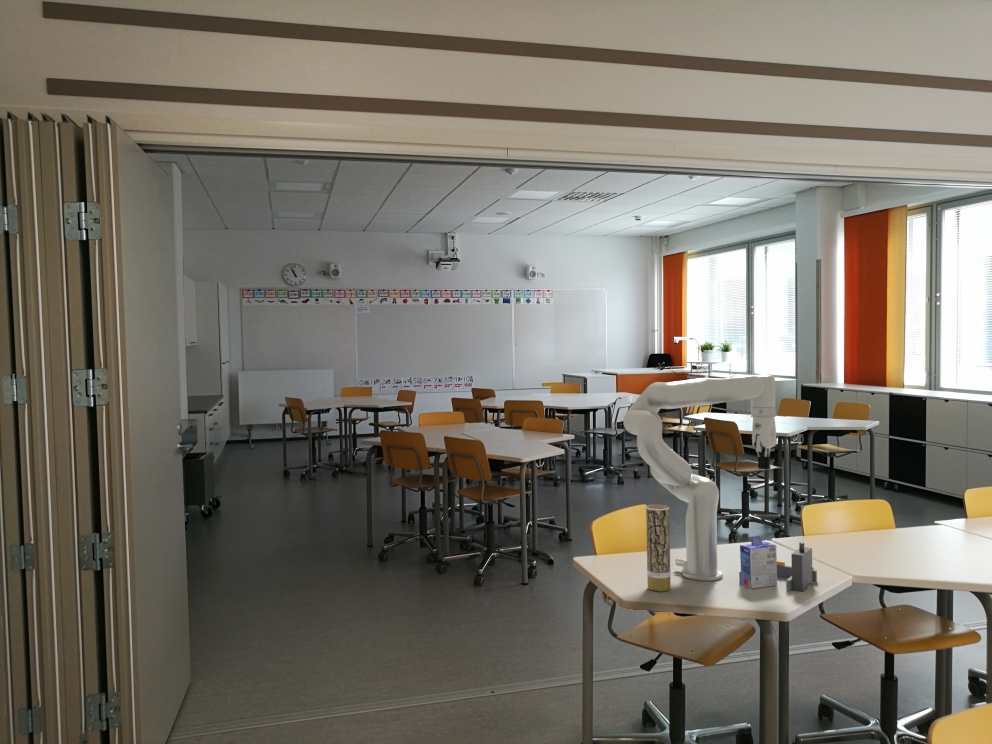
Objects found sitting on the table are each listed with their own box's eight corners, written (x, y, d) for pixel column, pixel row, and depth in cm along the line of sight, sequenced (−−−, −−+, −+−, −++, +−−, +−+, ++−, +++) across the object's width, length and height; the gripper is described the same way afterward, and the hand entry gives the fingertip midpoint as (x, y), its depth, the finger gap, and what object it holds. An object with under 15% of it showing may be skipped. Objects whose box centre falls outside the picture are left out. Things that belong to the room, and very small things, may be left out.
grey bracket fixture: (739, 583, 219) (738, 539, 219) (756, 571, 231) (755, 530, 231) (802, 594, 208) (801, 548, 207) (817, 581, 219) (816, 538, 219)
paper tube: (666, 593, 211) (664, 509, 211) (644, 590, 215) (642, 507, 214) (673, 587, 217) (672, 505, 217) (652, 584, 220) (650, 503, 220)
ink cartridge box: (766, 580, 222) (765, 533, 222) (778, 585, 217) (778, 538, 216) (739, 583, 219) (738, 536, 218) (751, 589, 213) (750, 541, 213)
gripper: (766, 414, 224) (767, 472, 224) (782, 411, 236) (783, 466, 236) (743, 413, 229) (744, 470, 229) (759, 410, 241) (760, 465, 241)
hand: (763, 468), depth 233 cm, fingers closed
